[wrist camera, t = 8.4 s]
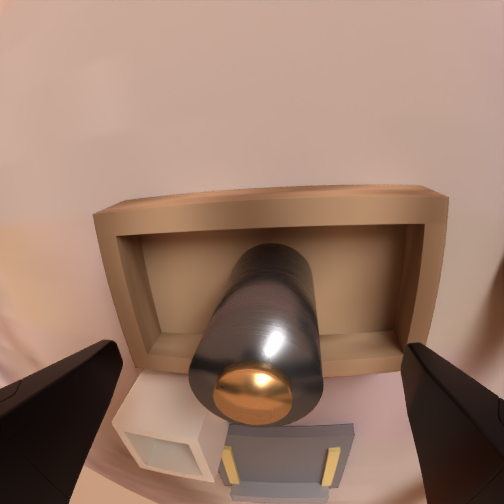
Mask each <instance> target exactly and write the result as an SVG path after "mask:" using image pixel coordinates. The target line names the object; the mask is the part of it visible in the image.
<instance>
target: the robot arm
mask: <svg viewBox="0 0 504 504" xmlns="http://www.w3.org/2000/svg"><path fill="white" fill-rule="evenodd" d="M122 367H123V360H122V357H121V354H120V352H119V349H118V346H117V344H116V342H115V341H113V340H101V341H99V342H97V343H95V344H93V345H91V346H89V347H87V348H85V349H83V350H81V351H79V352H77V353H75V354H73V355H71V356H69V357H67V358H64V359H62V360H60V361H58V362H56V363H54V364H52V365H50V366H48V367H46V368H44V369H42V370H40V371H37V372H35V373H33V374H31V375H29V376H27V377H25V378H23V379H22V380H18V381H16V382H14V383H12V384H10V385H8V386H5V387H3V388H1V389H0V504H69V501H70V500H69V499H70V498H71V496H72V493H73V490H74V488H75V485H76V482H77V479H78V478H79V475H80V472H81V470H82V467H83V465H84V463H85V460H86V458H87V455H88V453H89V450H90V448H91V446H92V443H93V441H94V439H95V436H96V434H97V432H98V429H99V427H100V425H101V423H102V420H103V418H104V416H105V414H106V411H107V409H108V407H109V404H110V402H111V399H112V396H113V393H114V390H115V387H116V384H117V381H118V379H119V376H120V373H121V370H122ZM401 376H402V382H403V388H404V394H405V401H406V408H407V413H408V418H409V422H410V426H411V430H412V434H413V438H414V442H415V446H416V450H417V454H418V459H419V463H420V468H421V473H422V478H423V483H424V488H425V493H426V499H427V504H504V400H503V399H502V398H499V396H497V395H496V394H494V393H493V392H492V391H490V390H489V389H487V388H486V387H484V386H483V385H482V384H480V383H479V382H477V381H476V380H474V379H473V378H471V377H470V376H469V375H467V374H466V373H464V372H463V371H461V370H460V369H458V368H457V367H456V366H454V365H453V364H451V363H450V362H448V361H447V360H445V359H444V358H442V357H441V356H440V355H438V354H437V353H435V352H434V351H432V350H431V349H429V348H428V347H426V346H425V345H423V344H422V343H420V342H415V343H408V344H407V345H406V347H405V351H404V355H403V359H402V363H401Z"/></svg>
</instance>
